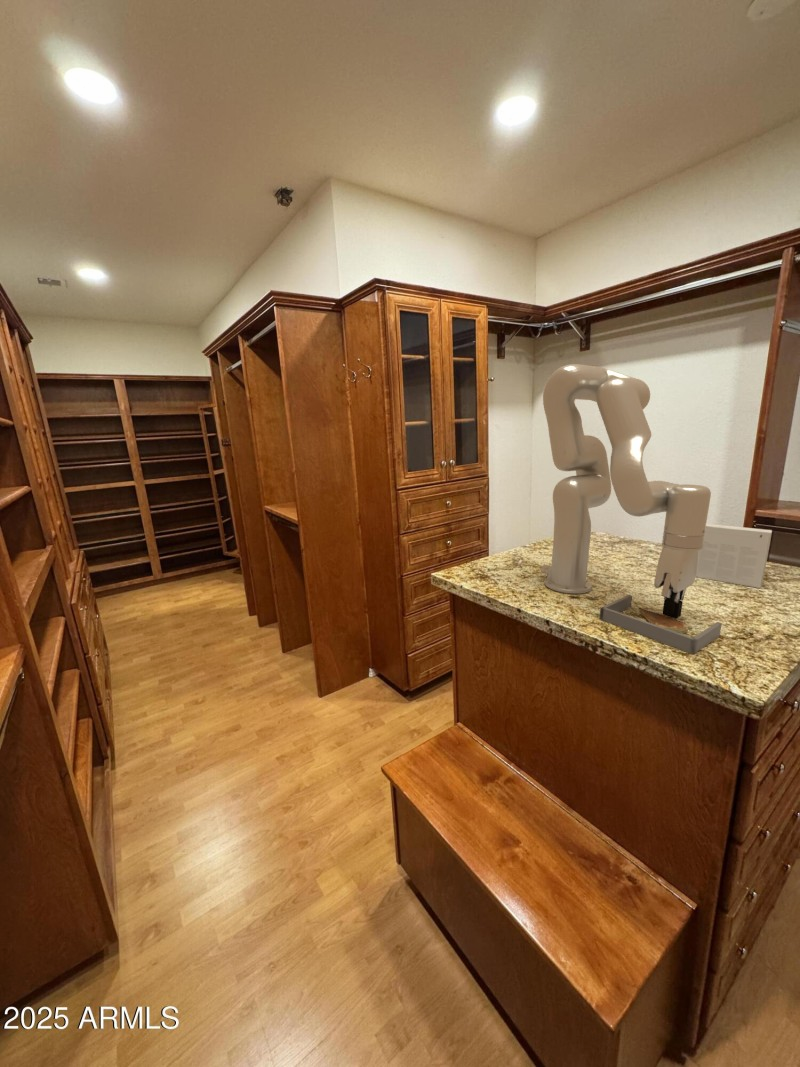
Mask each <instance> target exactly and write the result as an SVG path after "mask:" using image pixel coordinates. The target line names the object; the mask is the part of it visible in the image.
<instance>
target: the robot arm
mask: <svg viewBox="0 0 800 1067" xmlns="http://www.w3.org/2000/svg"><path fill="white" fill-rule="evenodd" d="M542 393H543V394H542V405H543V410H544V413H545V418H546V422H547V428H548V437H549V443H550V448H551V449H550V450H551V456H552V462H553V465H554V466H555V467H556V469H557V470H559V471H562V472H575V474H576V475H571V476H567V477H565V478H563V479H561V480H559V481H558V482H557V484H556V485H555V486H554V489H553V491H552V504H553V513H554V514H553V517H554V522H553V523H554V524H553V536H552V537H553V539H552V552H551V565H548V564H542V567H541V568H540V573H543V574H546V575H547V576H546V578H545V579H544V585H545V586H546V587H547V588H548V589H550V590H553V591H555V592H558V593H564V594H570V595H571V594H572V595H573V594H574V595H576V594H579V595H580V594H585V593H588V592H590V591H592V588H593V585H592V582H590V581H589V580H588V579H587V577H588V566H589V565H588V564H589V557H590V556H589V555H590V542H591V534H592V522H591V521H592V520H591V517H590V512H589V509H592V508H597V507H600V506H603V505H604V504H606V503H607V501H609V499H610V496H611V495H612V494H611V493H612V487H613V490H614V493H615V495H616V499H617V501H618V503H619V506H620V507H621V508H622V510H623V511H624V512H625V513H627V514H629V515H630V516H633V517H646V516H650V515H653V514H659V513H665V517H664V518H665V520H664V528H663V533H662V534H663V535H662V541H661V546H662V548H661V551H660V555H659V558H658V562H657V568H656V571H655V578H654V583H653V586H654V588H656V589H658V588H662V590H661V594H660V595H661V597H663V608H662V615H665V616H668V617H671V618H673V619H676V620H678V618H681V615H682V607H683V604H684V603H683V600H684V599H685V595H686V591H687V589H688V588H690V587H692V586H693V584H694V583H695V581H696V578H697V577H696V571H697V563H698V551H700V550H702V546H703V540H704V534H705V528H706V524H707V521H708V514H709V508H710V502H711V498H712V497H711V494H712V493H711V492H712V491H711V489H710V488H709V487H708V486H704V485H700V484H678V483H673V482H669V481H664V480H653V481H652V480H651V481H648V478H647V476H646V473H645V469H644V464H643V456H644V450H646V449H645V448H646V446H647V445H648V444H649V442H650V440H651V438H652V431H651V428H650V426H649V423H648V420H647V418H646V414H645V412H644V409H645V408H646V407H647V406H648V404H649V402H650V400H651V399H650V398H651V391H650V388H649V385H648V384H647V383H646V382H644V381H643V380H642V379H639V378H636V377H632V376H629V375H625V374H623V373H619V372H617V371H614V370H611V369H609V368H605V367H601V366H593V365H587V364H579V363H571V364H570V363H569V364H566V365H563V366H561V367H558V368H557V369H556V370H555V371H554V372H553V373H552V374H551V375H549V378H548V379H547V381H546V382H545V385H544V389H543V392H542ZM576 400H580V401H581V400H582V401H583V400H584V401H592V402H595V403H596V405H597V408H598V410H599V414H600V417H601V420H602V422H603V425H604V427H605V431H606V434H607V436H608V439H609V443H610V446H611V455H610V466H609V461H608V459H609V458H608V455H607V450H606V447H605V445H604V443H603V442H602V441H601V439H600V438H598V437H596V436H592V435H588V434H587V435H586V434H585V433H584V428H583V422H582V417H581V414H580V411H579V409H578V408H577V405H576V403H575V401H576Z"/></svg>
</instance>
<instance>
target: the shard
mask: <svg viewBox="0 0 800 1067" xmlns="http://www.w3.org/2000/svg"><path fill="white" fill-rule="evenodd" d="M638 610H639V612H638V613H639V614H640V615H642V617H644V619H646V622H649V623H651V624H654V625H657V626H660V627H663V628H666V629H669V630H672V631H675V632H677V633H680V634H683V635H685V634H686V633H687V632H688V631H689V628H688V627H687V626H686V622H684V621H682V620H679V619H675V618H672V617H669V616H666V615H663V613H658V612H654V611H651V610H647V609H646V608H645V609H644V608H641V607H638Z"/></svg>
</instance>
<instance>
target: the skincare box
mask: <svg viewBox="0 0 800 1067" xmlns="http://www.w3.org/2000/svg"><path fill="white" fill-rule="evenodd" d="M772 533H773V530H772V529H763V528H754V527H753V528H752V527H744V526H736V525H735V526H732V525H726V524H724V525H723V524H714V523H706V528H705V534H704V540H703V546H702V550H700V551H698V563H697V571H696V577H695V578H698V579H699V578H700V579H705V580H711V581H717V582H723V583H727V584H733V585H739V586H745V587H751V588H757V589H761V588H762V586H763V581H764V577H765V571H766V566H767V560H768V555H769V550H770V546H771V538H772Z"/></svg>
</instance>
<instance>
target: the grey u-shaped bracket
mask: <svg viewBox="0 0 800 1067" xmlns="http://www.w3.org/2000/svg"><path fill="white" fill-rule="evenodd" d="M632 602H633V595H632V594H627V595H625V596H624V597H621V598H619V599H617V600H615V601H612V602H610V603H608V604H606V605H603V606H600V611H599V620H601V621H603V622H606V623H609V624H611V625H614V626H617V627H620V628H622V629H625V630H628V631H630V632H633V633H635V634H638V635H640V636H642V637H646V638H648V639H652V640H655V641H657V642H659V643H662V644H665V645H668V646H670V647H673V648H675V649H678V650H681V651H683V652H686V653H689V654H691V655H695V654H696V653H698V652H699V651H701V650H702V649H703V648H704V647H707V645H709V644H711V643H712V642H713V641H715V640H716V639H717V638H719V637H720V636H721V630H722V625H723V624H722V622H720V621H717V622H715V623H713V624H712V625H711V626H709V627H708V628H706V629H705V630H702V631H701V632H700V633H698V634H697V635H695V636H694V637H691V636H689V635H686V634H680V633H677V632H675V631H672V630H669V629H666V628H663V627H660V626H657V625H654V624H651V623H649V621H647V620H646V621H645V620H642V619H639V618H637V617H634V616H631V615H628V614H625V613H623V611H625V610H628V609H630V608H631V607H632Z"/></svg>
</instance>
